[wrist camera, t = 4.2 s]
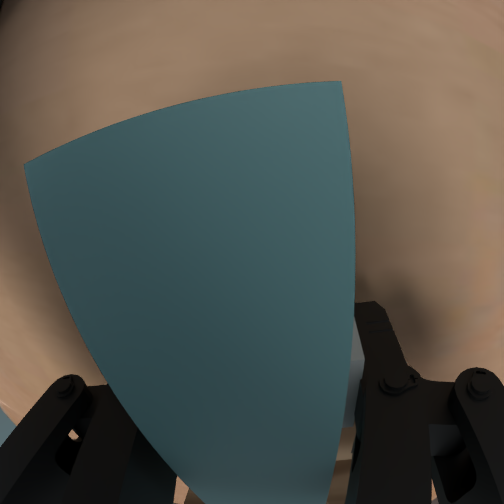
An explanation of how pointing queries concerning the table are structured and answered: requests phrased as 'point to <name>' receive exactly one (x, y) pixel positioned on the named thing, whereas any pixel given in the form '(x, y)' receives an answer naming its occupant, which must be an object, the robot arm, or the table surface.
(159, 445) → the teal notched block
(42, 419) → the robot arm
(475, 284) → the table surface
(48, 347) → the table surface
